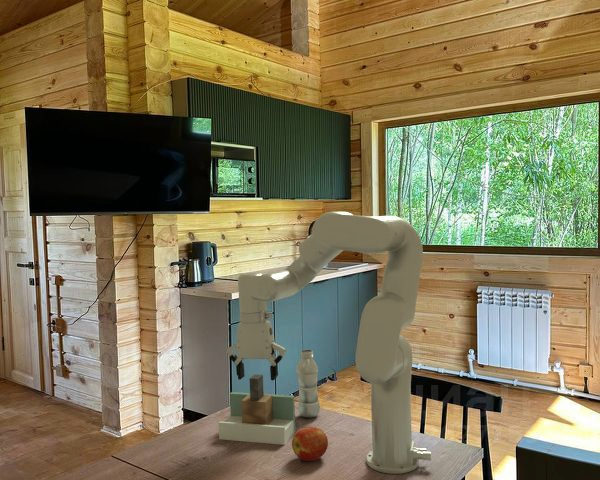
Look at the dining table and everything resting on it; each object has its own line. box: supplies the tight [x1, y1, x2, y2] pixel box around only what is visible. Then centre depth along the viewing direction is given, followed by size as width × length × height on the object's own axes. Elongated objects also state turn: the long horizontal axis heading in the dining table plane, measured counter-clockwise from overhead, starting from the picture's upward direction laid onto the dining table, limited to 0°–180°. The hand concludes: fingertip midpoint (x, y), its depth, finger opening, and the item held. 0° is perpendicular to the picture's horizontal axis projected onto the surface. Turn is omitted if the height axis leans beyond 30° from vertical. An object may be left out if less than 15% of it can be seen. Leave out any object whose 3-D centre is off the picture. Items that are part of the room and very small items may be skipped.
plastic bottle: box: [296, 349, 321, 418], centre depth 165 cm, size 6×7×20 cm
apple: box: [291, 426, 329, 462], centre depth 136 cm, size 8×8×8 cm
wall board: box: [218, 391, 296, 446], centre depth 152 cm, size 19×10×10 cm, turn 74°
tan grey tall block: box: [241, 373, 273, 425], centre depth 152 cm, size 7×6×13 cm
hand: (257, 378), depth 151 cm, fingers open, 9 cm apart
